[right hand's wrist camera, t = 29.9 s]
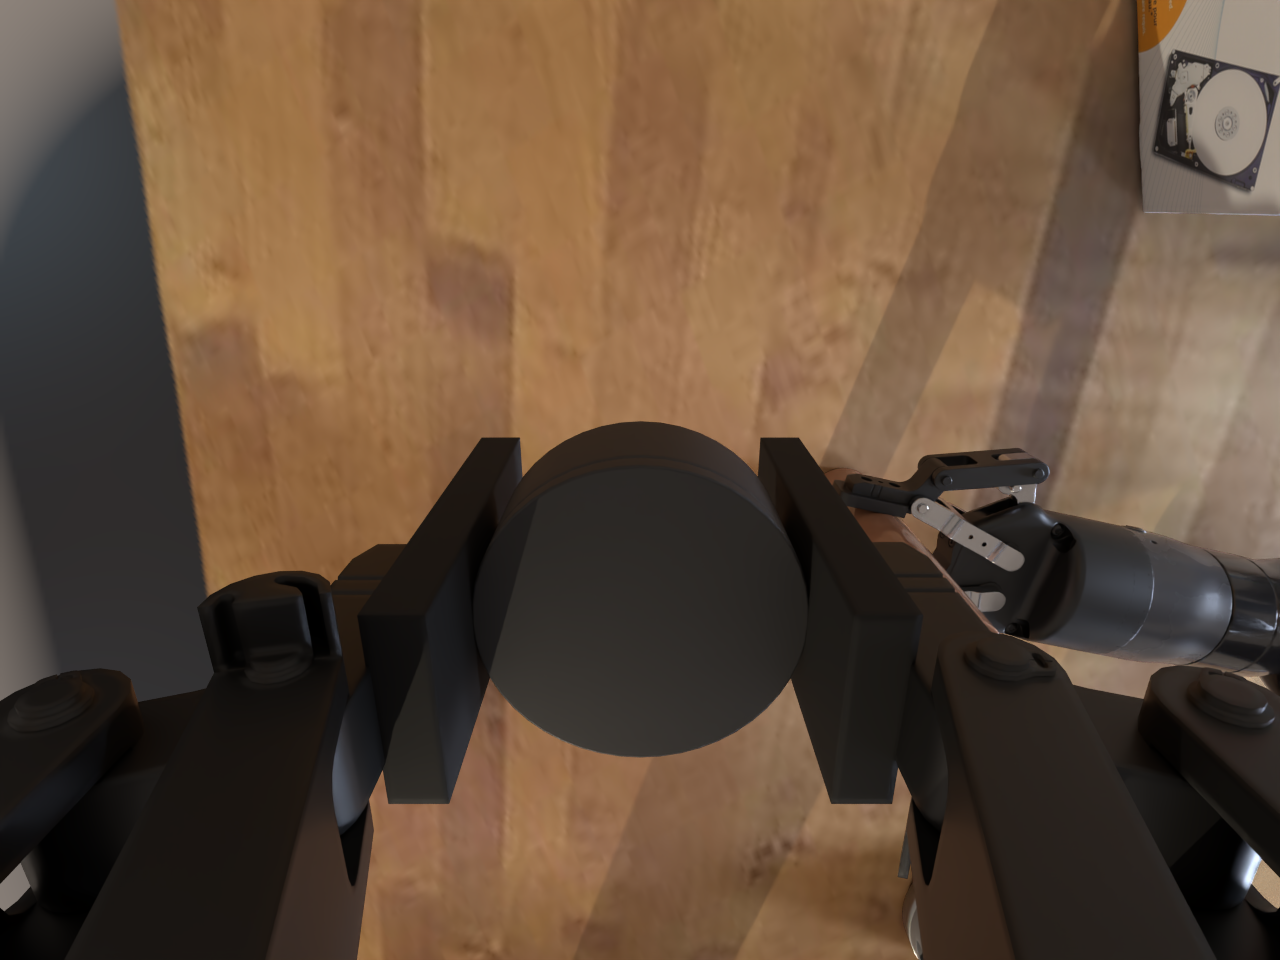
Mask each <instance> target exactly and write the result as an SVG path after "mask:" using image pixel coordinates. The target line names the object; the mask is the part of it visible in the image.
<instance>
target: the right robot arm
mask: <svg viewBox="0 0 1280 960" xmlns="http://www.w3.org/2000/svg"><path fill="white" fill-rule="evenodd" d="M758 478H759V479H760V481H761V482H762V484H763V485H764V487H765V489H766V490H767V492H768V493H769V496H770V498H771V500H772V502H773V504H774V507H775V509H776V511H777V513H778V515H779V518H780V520H781V522H782V524H783V526H784V528H785V531H786V533H787V535H788V537H789V539H790V542H791V544H792V546H793V548H794V550H795V553H796V555H797V557H798V559H799V561H800V563H801V566H802V569H803V572H804V576H805V579H806V583H807V588H808V596H809V612H808V623H807V632H806V641H805V645H804V648H803V651H802V654H801V657H800V660H799V663H798V665H797V667H796V669H795V671H794V672H793V674H792V676H791V680H792V683H793V687H794V690H795V693H796V696H797V699H798V702H799V705H800V708H801V711H802V714H803V718H804V721H805V724H806V727H807V730H808V733H809V736H810V739H811V742H812V745H813V749H814V752H815V755H816V758H817V761H818V764H819V767H820V770H821V773H822V776H823V779H824V783H825V786H826V789H827V792H828V795H829V798H830V801H831V804H892V800H893V794H894V788H895V782H896V776H897V770H898V768H899V770H900V772H901V774H902V776H903V778H904V780H905V783H906V785H907V787H908V789H909V791H910V793H911V796H912V797H911V803H910V809H909V814H908V820H907V825H906V831H905V836H904V842H903V847H902V853H901V859H900V865H899V872H898V877H901V878H905V879H908V874H909V868H910V864H911V869H912V877H913V883H912V885H911V886H910V888H909V890H908V892H907V894H906V897H905V900H904V904H903V911H902V914H903V923H904V927H905V930H906V933H907V935H908V938H909V941H910V943H911V946H912V949H913V951H914V953H915V955H916V956H917V958H918V959H919V960H1280V908H1279V909H1277V908H1275V907H1274V906H1273V905H1272V904H1271V903H1270V902H1268V901H1267V900H1266V899H1265V898H1264V897H1263V896H1262V895H1261V894H1260V893H1259V892H1258V891H1257V889H1256V888H1255V887H1254V886H1253V885H1252V884H1251V883H1252V880H1253V878H1254V876H1255V873H1256V871H1257V869H1258V866H1259V864H1260V862H1261V859H1262V860H1263V861H1264V862H1265V863H1266V864H1267V865H1268V866H1269V867H1270V868H1271V869H1272V870H1273V871H1274V872H1275V873H1276V874H1277V875H1278V876H1279V877H1280V696H1278V695H1277V694H1275V693H1273V692H1272V691H1270V690H1268V689H1267V688H1264V687H1262V686H1260V685H1257V684H1255V683H1253V682H1250V681H1248V680H1246V679H1245V678H1243V677H1242V676H1239V675H1236V674H1233V673H1230V672H1227V671H1225V673H1224V672H1222V671H1221V670H1218V669H1214V668H1209V667H1204V668H1203V667H1194V666H1184V665H1179V666H1172V667H1164V668H1161V669H1160V670H1158V671H1157V672H1156V673H1154V674H1153V675H1152V676H1151V678H1150V681H1149V684H1148V687H1147V690H1146V694H1145V697H1144V699H1140V698H1135V697H1130V696H1125V695H1119V694H1114V693H1109V692H1104V691H1098V690H1093V689H1088V688H1084V687H1080V686H1076V685H1073V684H1072V683H1071V681H1070V679H1069V677H1068V675H1067V673H1066V671H1065V670H1064V669H1063V668H1062V667H1061V666H1060V664H1059V663H1058V662H1057V661H1056V660H1055V659H1054V658H1053V657H1052V656H1050V655H1049V654H1047V653H1046V652H1044V651H1043V650H1041V649H1039V648H1038V647H1036V646H1035V645H1032V644H1030V643H1027V642H1025V641H1022V640H1020V639H1017V638H1015V637H1012V636H1008V635H1003V634H999V633H994V632H991V631H990V630H989V629H988V627H987V626H986V625H985V624H984V623H983V621H982V620H981V619H980V618H979V617H978V615H977V614H976V613H975V612H974V611H973V610H972V608H971V607H970V606H969V605H968V604H967V602H966V601H965V600H964V599H963V598H962V596H961V595H960V594H959V593H958V592H955V588H954V587H953V586H952V584H951V583H950V582H949V581H948V580H947V578H943V574H942V572H941V571H940V570H939V569H938V568H937V566H936V565H935V564H934V563H933V562H932V560H931V559H930V558H929V557H928V556H926V555H924V554H923V553H921V552H919V551H918V550H916V549H914V548H913V547H911V546H909V545H907V544H906V543H904V542H872V541H871V540H870V538H869V537H868V536H867V534H866V533H865V531H864V530H863V528H862V527H861V526H860V524H859V523H858V521H857V520H856V519H855V517H854V516H853V514H852V513H851V511H850V510H849V509H848V507H847V506H846V504H845V503H844V501H843V500H842V499H841V497H840V496H839V494H838V493H837V491H836V490H835V489H834V487H833V486H832V484H831V483H830V482H829V480H828V479H827V477H826V476H825V474H824V473H823V472H822V470H821V469H820V467H819V466H818V464H817V463H816V462H815V460H814V459H813V457H812V456H811V454H810V453H809V452H808V450H807V449H806V447H805V446H804V445H803V443H802V442H801V440H800V439H799V438H761V439H760V455H759V470H758ZM521 479H522V463H521V448H520V438H481V439H480V441H479V442H478V444H477V445H476V447H475V448H474V449H473V451H472V452H471V454H470V455H469V457H468V458H467V459H466V461H465V462H464V464H463V465H462V467H461V468H460V469H459V471H458V472H457V474H456V475H455V476H454V478H453V479H452V481H451V482H450V484H449V485H448V486H447V488H446V489H445V491H444V492H443V494H442V495H441V496H440V498H439V499H438V501H437V502H436V504H435V505H434V506H433V508H432V509H431V511H430V512H429V514H428V515H427V516H426V518H425V519H424V521H423V522H422V523H421V525H420V526H419V528H418V529H417V531H416V532H415V533H414V535H413V536H412V538H411V539H410V541H409V542H408V543H407V544H377V545H376V546H374V547H372V548H371V549H369V550H367V551H365V552H364V553H362V554H360V555H359V556H357V557H355V558H354V559H352V560H351V562H350V563H349V564H348V565H347V566H346V568H345V569H344V570H343V571H342V572H341V574H340V575H339V576H338V580H335V581H334V582H333V583H332V584H331V586H330V582H329V581H328V580H326V579H325V578H324V577H322V576H321V575H320V574H315V573H310V572H305V571H278V572H273V573H268V574H262V575H257V576H253V577H250V578H247V579H244V580H241V581H238V582H235V583H232V584H230V585H228V586H226V587H224V588H222V589H220V590H219V591H217V592H215V593H213V594H211V595H210V596H209V597H208V598H207V599H206V600H205V601H204V602H203V603H202V604H200V605H199V606H198V607H197V608H198V612H199V616H200V620H201V624H202V628H203V631H204V635H205V639H206V643H207V647H208V651H209V654H210V658H211V662H212V666H213V670H214V674H213V676H212V678H211V680H210V682H209V684H208V686H207V688H206V689H202V690H198V691H194V692H189V693H183V694H178V695H173V696H168V697H162V698H157V699H152V700H147V701H142V702H138V701H137V698H136V695H135V692H134V689H133V685H132V682H131V679H130V678H128V677H127V676H126V675H124V674H123V673H122V672H120V671H115V670H108V669H91V670H81V671H70V672H65V673H61V674H60V675H59V676H57V675H53V676H50V677H47V678H44V679H41V680H39V681H37V682H36V683H35V684H32V685H30V686H28V687H26V688H23V689H21V690H18V691H16V692H14V693H13V694H11V695H9V696H8V697H6V698H4V699H3V700H1V701H0V883H1V882H2V881H3V880H4V879H5V878H6V877H7V876H8V875H9V874H10V873H11V872H12V871H13V870H14V869H15V868H16V867H17V866H18V864H20V863H21V865H22V867H23V870H24V872H25V874H26V877H27V879H28V881H29V884H30V886H31V887H30V888H29V889H28V890H27V891H26V892H25V893H24V894H23V896H22V897H21V898H20V899H19V900H18V901H17V902H15V903H14V904H13V905H12V906H10V907H9V908H8V909H7V910H6V911H3V910H2V909H1V908H0V960H357V955H358V947H359V939H360V932H361V924H362V916H363V909H364V901H365V894H366V886H367V878H368V871H369V863H370V855H371V848H372V840H373V833H374V828H373V821H372V814H371V809H370V803H369V798H370V796H371V794H372V792H373V789H374V787H375V785H376V783H377V781H378V779H379V776H380V774H381V772H382V770H383V774H384V780H385V786H386V792H387V798H388V804H449V803H450V799H451V796H452V793H453V790H454V787H455V784H456V781H457V778H458V775H459V772H460V768H461V765H462V762H463V759H464V756H465V753H466V750H467V747H468V744H469V741H470V737H471V734H472V731H473V728H474V725H475V722H476V719H477V716H478V713H479V710H480V706H481V703H482V700H483V697H484V694H485V691H486V688H487V685H488V682H489V679H490V677H489V675H488V672H487V670H486V668H485V666H484V664H483V662H482V660H481V657H480V654H479V651H478V648H477V645H476V642H475V636H474V627H473V617H472V597H473V589H474V583H475V580H476V576H477V573H478V569H479V566H480V564H481V561H482V559H483V557H484V555H485V553H486V550H487V548H488V546H489V544H490V541H491V539H492V537H493V535H494V533H495V530H496V528H497V526H498V524H499V522H500V519H501V517H502V515H503V513H504V511H505V508H506V506H507V504H508V502H509V500H510V498H511V496H512V493H513V491H514V490H515V488H516V487H517V485H518V484H519V482H520V481H521Z"/></svg>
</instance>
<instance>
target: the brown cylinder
mask: <svg viewBox="0 0 1280 960" xmlns="http://www.w3.org/2000/svg"><path fill="white" fill-rule="evenodd" d="M856 473H858V474H861V473H860V472H858V471H856V470H852V469H846V468H841V469H835V470H832V471H829V472H827V473H825V476H826V477H827V479H828V480H829V482H830V483H831V484H832V485H833V482H834V480H842V481H845V479H846V476H847V475H849V474H856ZM862 475H863V474H862ZM847 507H848V506H847ZM848 509H849V510H850V511H851V513H852V514H853V516H854V517H855V519H856V520H857V521H858V523H859V524H860V526H861V527H862V528H863V530H864V531H865V533H866V534H867V536H868V537H869V538H870V540H871V541H872V542H904V543H906V544H907V545H909V546H911V547H913V548H914V549H916V550H918V551H919V552H921V553H923V554H924V555H926V556H928V557H929V558H930V559H931V560H932V562H933V563H934V564H935V565H936V566H937V568H938V569H939V570H940V571H941V572H942V574H943V578H947V580H948V581H949V582H950V583H951V584H952V586H953V587H954V588H955V592H958V593H959V594H960V595H961V596H962V598H963V599H964V600H965V601H966V602H967V604H968V605H969V606H970V607H971V608H972V610H973V611H974V612H975V613H976V614H977V615H978V617H979V618H980V619H981V620H982V621H983V623H984V624H985V625H986V626H987V627H988V629H989V630H990V631H991V632H994V633H999V632H998V631H997V629H996V628H995V627H994V626H993V625H992V624H991V622H990V621H989V620H988V619H987V618H986V617H985V615H984V614H983V613H982V612H981V611H980V610H979V608H978V607H977V606H976V605H975V604H974V603H973V601H972V600H971V599H970V598H969V597H968V596H967V594H966V593H965V592H964V591H963V590H962V589H961V587H960V586H959V585H958V584H957V583H956V582H955V580H954V579H953V578H952V577H951V576H950V575H949V573H948V572H947V571H946V570H945V569H944V568H943V566H942V565H941V564H940V563H939V562H938V561H937V559H936V558H935V557H934V556H933V555H932V554H931V552H930V551H929V550H928V549H927V548H926V547H925V545H924V544H923V543H922V542H921V541H920V540H919V539H918V537H917V536H916V535H915V534H914V533H913V532H912V530H911V529H910V528H909V527H908V526H907V525H906V523H905V522H904V521H903V520H902V519H901V518H900V517H896V516H892V515H887V514H882V513H877V512H872V511H867V510H863V509H858V508H853V507H848ZM999 634H1000V633H999Z"/></svg>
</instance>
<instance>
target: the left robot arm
mask: <svg viewBox="0 0 1280 960" xmlns="http://www.w3.org/2000/svg"><path fill="white" fill-rule="evenodd" d="M1048 476H1049V467H1048V466H1047V465H1046V464H1045V463H1043V462H1041V461H1040V460H1038V459H1037V458H1035V457H1033V456H1032V455H1030V454H1028V453H1027V452H1025V451H1024V450H1022V449H1020V448H1012V449H999V450H987V451H974V452H961V453H948V454H935V455H927V456H924V457H923V458H921V459H920V461H919V463H918V470H917V471H916V473H915V474H914V475H913V476H912V477H911V478H910V479H909V480H907V481H904V482H895V481H890V480H886V479H881V478H876V477H872V476H866V475H862V474H858V473H856V474H849V475H847V476H846V479H845V481H842V480H834V482H833V485H832V486H833V487H834V489H835V490H836V491H837V493H838V494H839V496H840V497H841V499H842V500H843V501H844V503H845V504H846V506H848V507H853V508H858V509H863V510H867V511H872V512H877V513H882V514H887V515H892V516H896V517H901V518H905V515H906V513H909V514H912V515H913V516H914V517H916V518H917V519H919V520H921V521H923V522H925V523H926V524H928V525H930V526H932V527H934V528H936V529H937V530H939V531H940V532H939V534H938V540H937V548H936V550H935V551H934V552H933V554H932V555H933V556H934V557H935V558H936V559H937V561H938V562H939V563H940V564H941V565H942V566H943V568H944V569H945V570H946V571H947V572H948V573H949V575H950V576H951V577H952V578H953V579H954V580H955V582H956V583H957V584H958V585H959V586H960V587H961V589H962V590H963V591H964V592H965V593H966V594H967V596H968V597H969V598H970V599H971V600H972V601H973V603H974V604H975V605H976V606H977V607H978V608H979V610H980V611H981V612H982V613H983V614H984V615H985V617H986V618H987V619H988V620H989V621H990V622H991V624H992V625H993V626H994V627H995V628H996V629H997V631H998V632H999V633H1005V634H1009V635H1012V636H1015V637H1018V638H1021V639H1024V640H1028V641H1033V642H1038V643H1043V644H1048V645H1053V646H1058V647H1063V648H1068V649H1074V650H1079V651H1084V652H1089V653H1094V654H1099V655H1104V656H1109V657H1114V658H1119V659H1124V660H1130V661H1137V662H1147V663H1167V664H1174V665H1178V666H1179V665H1184V666H1194V667H1203V668H1204V667H1209V668H1214V669H1218V670H1221V671H1222V672H1224V673H1225V671H1227V672H1230V673H1233V674H1236V675H1239V676H1242V677H1256V676H1259V677H1260V678H1261V680H1262V681H1263V683H1264V684H1265V686H1266V687H1267V689H1268V690H1270V691H1272V692H1273V693H1275V694H1277V695H1278V696H1280V558H1274V559H1250V558H1246V557H1242V556H1238V555H1234V554H1230V553H1225V552H1220V551H1216V550H1211V549H1206V548H1201V547H1197V546H1192V545H1188V544H1185V543H1182V542H1180V541H1177V540H1175V539H1172V538H1169V537H1166V536H1163V535H1159V534H1155V533H1152V532H1147V531H1145V530H1142V529H1141V528H1137V527H1133V526H1127V525H1126V526H1119V525H1114V524H1109V523H1104V522H1100V521H1095V520H1090V519H1086V518H1081V517H1076V516H1071V515H1067V514H1062V513H1057V512H1053V511H1048V510H1043V509H1042V508H1041V507H1040V506H1038V505H1036V504H1034V502H1035V495H1036V487H1037V484H1039V483H1042V482H1043V481H1045V480H1046V479H1047V477H1048ZM991 487H995V488H997V489H998V490H999V491H1001V492H1002V493H1004V494H1009V496H1010V497H1007V498H1004V499H1001V500H999V501H996V502H993V503H991V504H988V505H985V506H983V507H980V508H977V509H975V510H972V511H969V512H966V511H964V510H962V509H960V508H959V507H957V506H955V505H953V504H951V503H950V502H948V501H946V500H944V499H943V498H941V497H939V496H940V495H941V494H942V493H943V491H951V490H965V489H978V488H991Z"/></svg>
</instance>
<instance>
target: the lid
mask: <svg viewBox="0 0 1280 960" xmlns="http://www.w3.org/2000/svg"><path fill="white" fill-rule="evenodd" d="M808 612H809V596H808V588H807V583H806V579H805V576H804V572H803V569H802V566H801V563H800V561H799V559H798V557H797V555H796V553H795V550H794V548H793V546H792V544H791V542H790V539H789V537H788V535H787V533H786V531H785V528H784V526H783V524H782V522H781V520H780V518H779V515H778V513H777V511H776V509H775V507H774V504H773V502H772V500H771V498H770V496H769V493H768V492H767V490H766V489H765V487H764V485H763V484H762V482H761V481H760V479H759V478H758V477H757V475H756V474H755V473H754V472H753V471H752V470H751V469H750V467H749V466H748V465H747V464H746V463H745V462H744V461H743V460H741V459H740V458H739V457H738V456H737V455H736V454H735V453H733V452H732V451H731V450H729V449H728V448H726V447H725V446H723V445H722V444H720V443H719V442H717V441H715V440H713V439H711V438H709V437H707V436H705V435H703V434H701V433H698V432H695V431H692V430H689V429H686V428H683V427H680V426H675V425H670V424H665V423H657V422H642V421H639V422H623V423H616V424H611V425H606V426H601V427H598V428H595V429H592V430H589V431H585V432H582V433H580V434H578V435H576V436H574V437H572V438H570V439H568V440H566V441H564V442H562V443H561V444H559V445H558V446H556V447H555V448H553V449H552V450H550V451H549V452H548V453H546V454H545V455H544V456H543V457H542V458H541V459H539V460H538V461H537V462H536V463H535V464H534V465H533V466H532V467H531V468H530V470H529V471H528V472H527V473H526V474H525V475H524V476H523V478H522V479H521V481H520V482H519V484H518V485H517V487H516V488H515V490H514V491H513V493H512V496H511V498H510V500H509V502H508V504H507V506H506V508H505V511H504V513H503V515H502V517H501V519H500V522H499V524H498V526H497V528H496V530H495V533H494V535H493V537H492V539H491V541H490V544H489V546H488V548H487V550H486V553H485V555H484V557H483V559H482V561H481V564H480V566H479V569H478V573H477V576H476V580H475V583H474V589H473V597H472V617H473V627H474V636H475V642H476V645H477V648H478V651H479V654H480V657H481V660H482V662H483V664H484V666H485V668H486V670H487V672H488V675H489V677H490V678H491V680H492V681H493V683H494V684H495V686H496V687H497V689H498V690H499V691H500V693H501V694H502V695H503V696H504V697H505V699H506V700H507V701H508V702H509V703H510V704H511V705H512V706H513V708H515V709H516V710H517V711H518V712H519V713H520V714H521V715H523V716H524V717H525V718H526V719H527V720H528V721H530V722H531V723H533V724H534V725H536V726H537V727H539V728H540V729H542V730H543V731H545V732H546V733H548V734H550V735H552V736H554V737H556V738H558V739H560V740H562V741H564V742H567V743H569V744H572V745H575V746H577V747H580V748H583V749H587V750H590V751H594V752H598V753H603V754H609V755H615V756H624V757H657V756H666V755H672V754H679V753H683V752H687V751H691V750H694V749H698V748H701V747H704V746H706V745H709V744H712V743H714V742H717V741H719V740H721V739H723V738H725V737H727V736H729V735H731V734H733V733H735V732H736V731H738V730H739V729H741V728H742V727H744V726H745V725H747V724H748V723H750V722H751V721H753V720H754V719H755V718H756V717H757V716H758V715H760V714H761V713H762V712H763V711H764V710H765V709H767V708H768V706H769V705H770V704H771V703H772V702H773V701H774V700H775V699H776V698H777V696H778V695H779V694H780V693H781V691H782V690H783V689H784V687H785V686H786V684H787V683H788V681H789V680H790V678H791V676H792V674H793V672H794V671H795V669H796V667H797V665H798V663H799V660H800V657H801V654H802V651H803V648H804V645H805V641H806V632H807V623H808Z"/></svg>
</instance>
